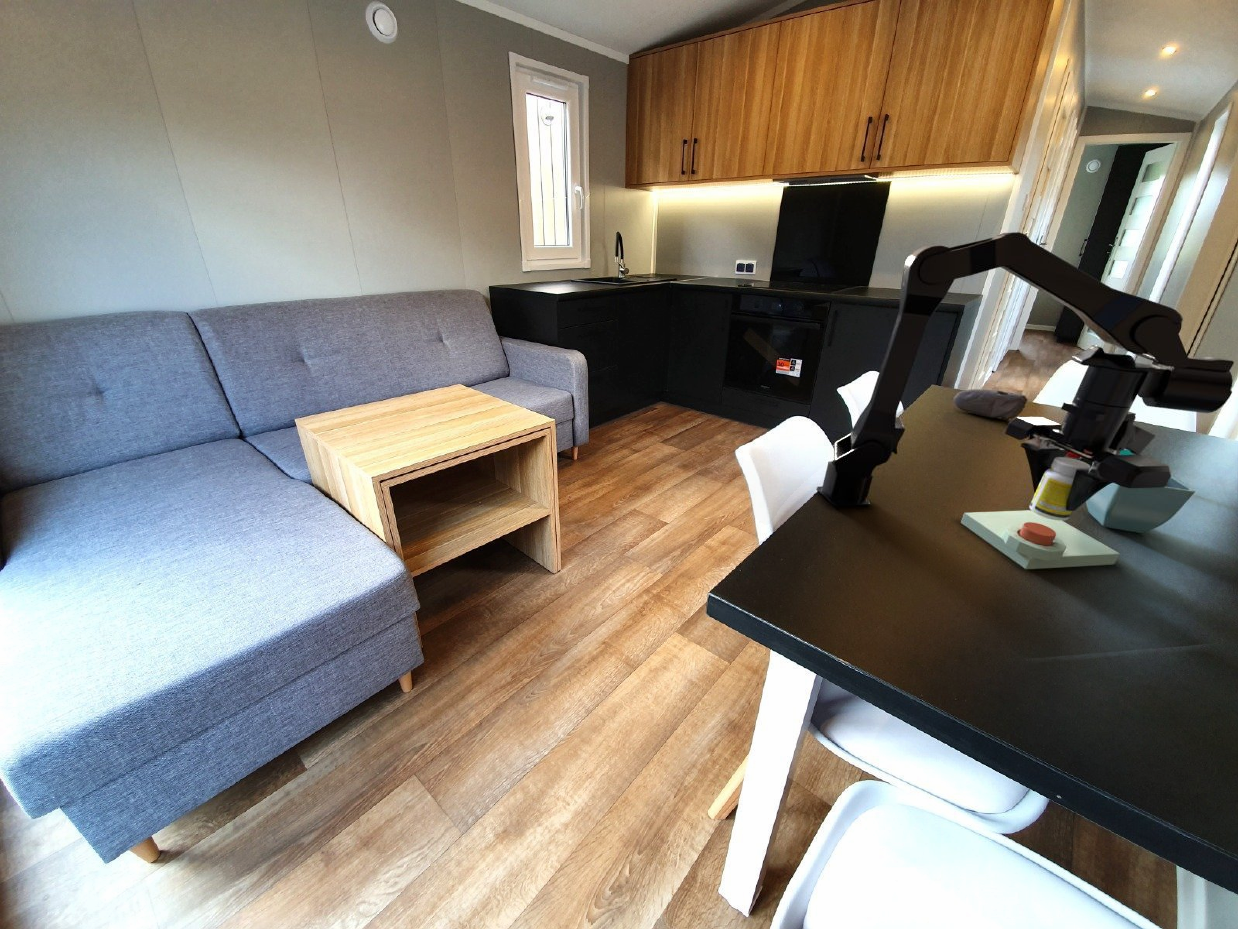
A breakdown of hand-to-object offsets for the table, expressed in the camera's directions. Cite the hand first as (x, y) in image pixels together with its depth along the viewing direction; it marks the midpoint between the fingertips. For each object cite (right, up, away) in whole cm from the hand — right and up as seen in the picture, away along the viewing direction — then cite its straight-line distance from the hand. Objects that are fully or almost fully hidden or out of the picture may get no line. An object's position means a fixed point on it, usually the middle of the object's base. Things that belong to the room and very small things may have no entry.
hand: (1053, 501), depth 72 cm
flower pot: (+16, -4, +7) cm, 18 cm away
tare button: (-6, -5, -4) cm, 9 cm away
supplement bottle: (0, -2, +1) cm, 2 cm away
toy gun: (+34, +6, +29) cm, 45 cm away
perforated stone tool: (+31, +18, +55) cm, 66 cm away
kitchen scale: (-2, -6, +1) cm, 7 cm away
